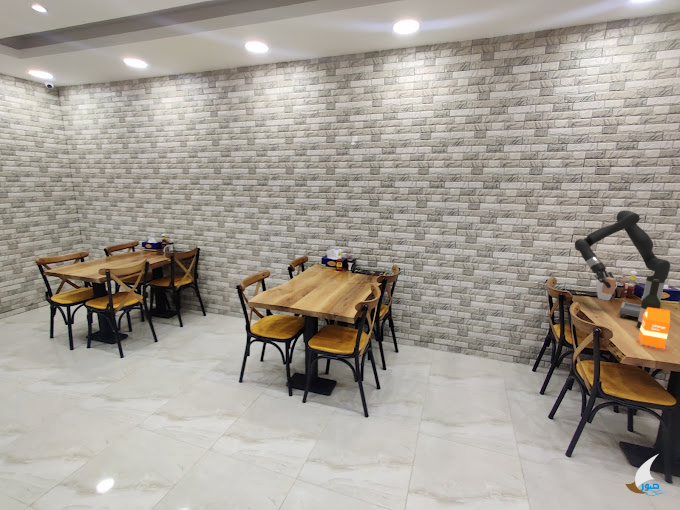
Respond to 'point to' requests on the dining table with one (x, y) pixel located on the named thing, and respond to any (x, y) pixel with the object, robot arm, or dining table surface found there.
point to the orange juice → (655, 327)
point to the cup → (599, 291)
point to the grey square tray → (630, 309)
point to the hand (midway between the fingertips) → (612, 287)
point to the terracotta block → (610, 290)
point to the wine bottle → (649, 301)
